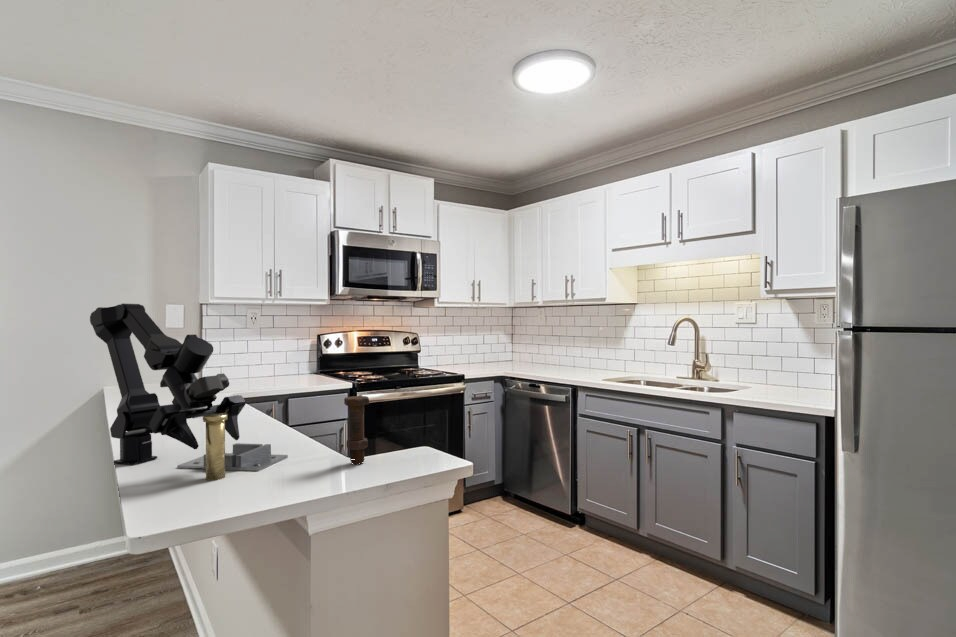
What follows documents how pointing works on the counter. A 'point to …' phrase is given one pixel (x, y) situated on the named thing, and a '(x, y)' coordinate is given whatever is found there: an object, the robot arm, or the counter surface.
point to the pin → (215, 446)
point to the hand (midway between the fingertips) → (218, 443)
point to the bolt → (356, 427)
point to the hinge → (242, 458)
